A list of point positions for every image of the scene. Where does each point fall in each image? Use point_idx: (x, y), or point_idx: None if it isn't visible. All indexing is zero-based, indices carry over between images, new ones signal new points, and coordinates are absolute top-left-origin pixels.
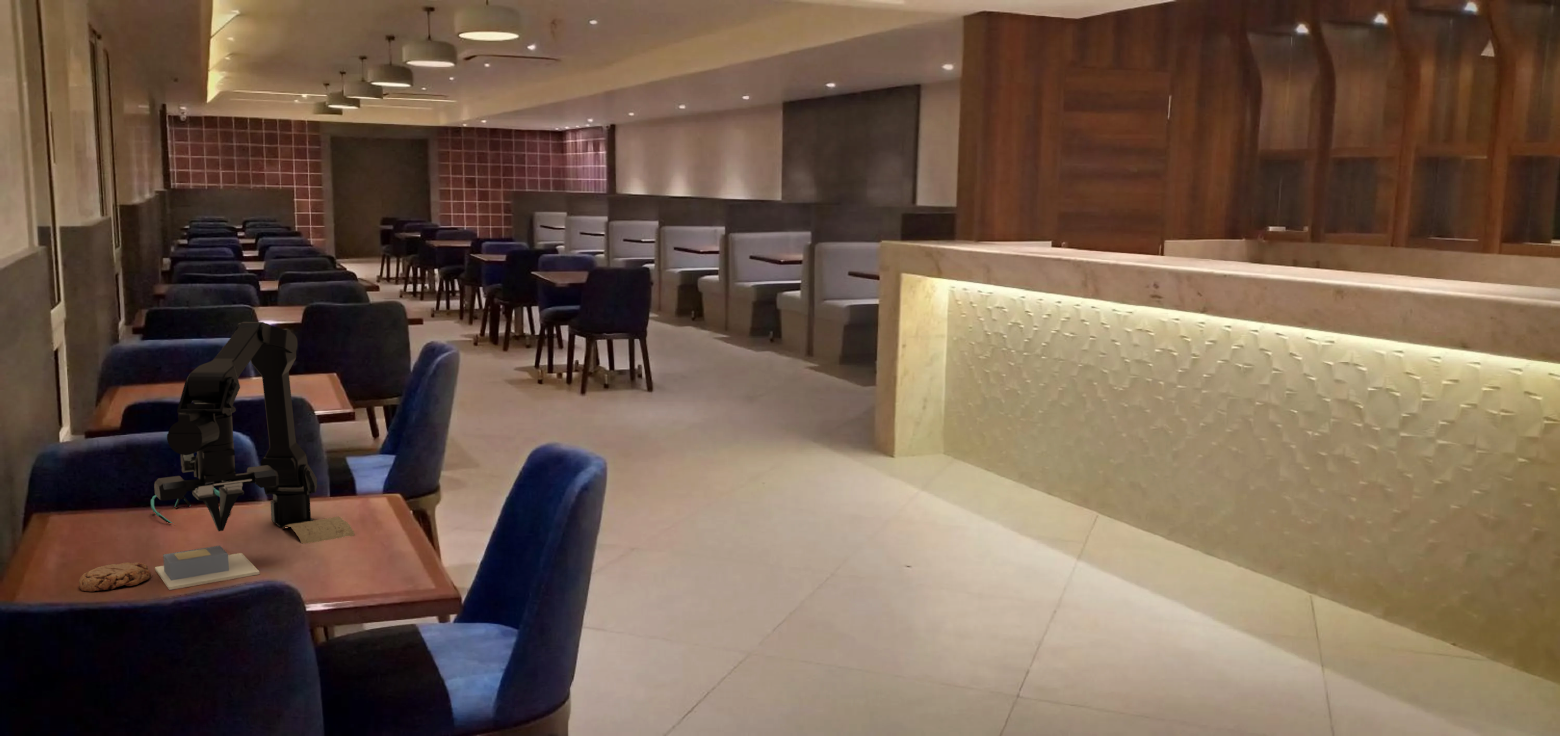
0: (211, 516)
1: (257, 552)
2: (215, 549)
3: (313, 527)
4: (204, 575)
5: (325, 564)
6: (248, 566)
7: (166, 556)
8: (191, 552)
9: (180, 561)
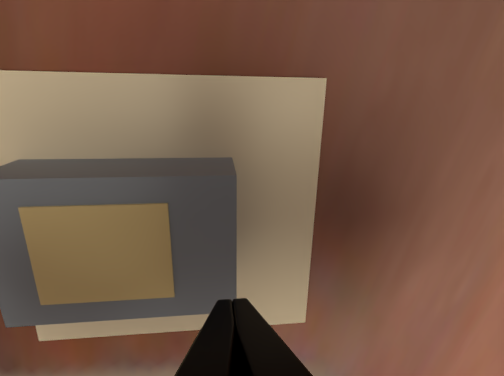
0: (182, 362)
1: (382, 70)
2: (205, 227)
3: None
4: None
5: (467, 318)
6: (294, 262)
7: None
8: (100, 229)
9: (49, 322)
